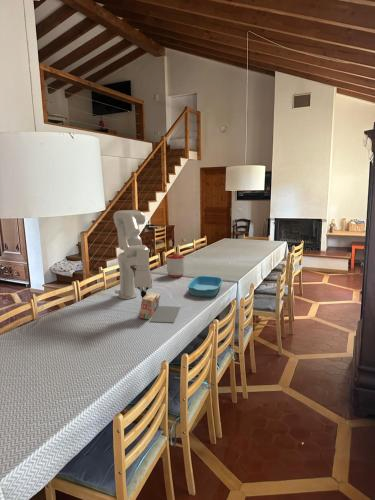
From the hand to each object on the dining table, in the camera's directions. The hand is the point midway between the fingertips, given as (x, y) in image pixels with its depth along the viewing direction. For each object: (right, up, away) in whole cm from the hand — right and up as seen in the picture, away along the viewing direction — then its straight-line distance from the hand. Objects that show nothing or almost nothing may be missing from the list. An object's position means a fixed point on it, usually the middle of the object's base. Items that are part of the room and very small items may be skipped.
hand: (143, 297), depth 219 cm
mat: (+13, -10, 0) cm, 17 cm away
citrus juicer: (+15, +6, +89) cm, 91 cm away
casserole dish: (+40, -2, +48) cm, 62 cm away
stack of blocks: (+3, -10, +2) cm, 10 cm away
